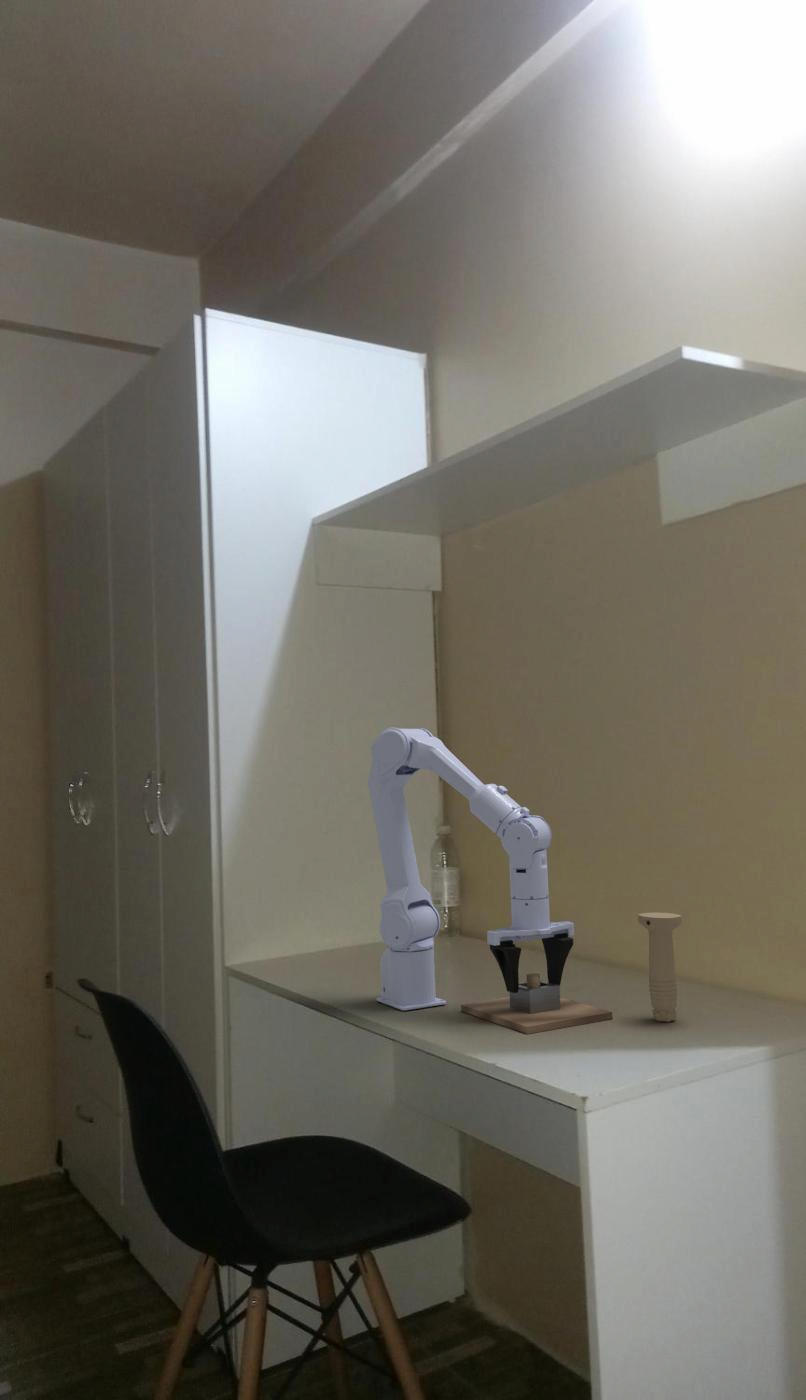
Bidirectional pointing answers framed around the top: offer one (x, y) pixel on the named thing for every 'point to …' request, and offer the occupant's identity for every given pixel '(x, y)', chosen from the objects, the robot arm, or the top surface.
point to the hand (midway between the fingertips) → (533, 988)
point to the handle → (661, 963)
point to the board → (536, 1022)
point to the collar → (536, 998)
